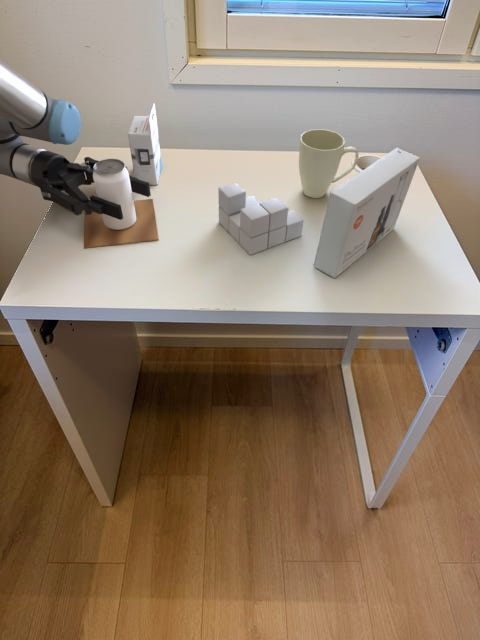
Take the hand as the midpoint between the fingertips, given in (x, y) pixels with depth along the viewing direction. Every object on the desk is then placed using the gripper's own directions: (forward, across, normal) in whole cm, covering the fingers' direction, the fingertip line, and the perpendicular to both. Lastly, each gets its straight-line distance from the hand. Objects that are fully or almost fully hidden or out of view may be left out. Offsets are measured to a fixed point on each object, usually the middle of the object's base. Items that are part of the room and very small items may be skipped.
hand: (135, 201), depth 87 cm
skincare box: (+39, -16, -7) cm, 43 cm away
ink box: (-10, -18, -7) cm, 21 cm away
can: (-5, 0, -6) cm, 8 cm away
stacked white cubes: (+20, -12, -7) cm, 25 cm away
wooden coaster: (-5, 0, -7) cm, 8 cm away
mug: (+26, -31, -7) cm, 41 cm away
